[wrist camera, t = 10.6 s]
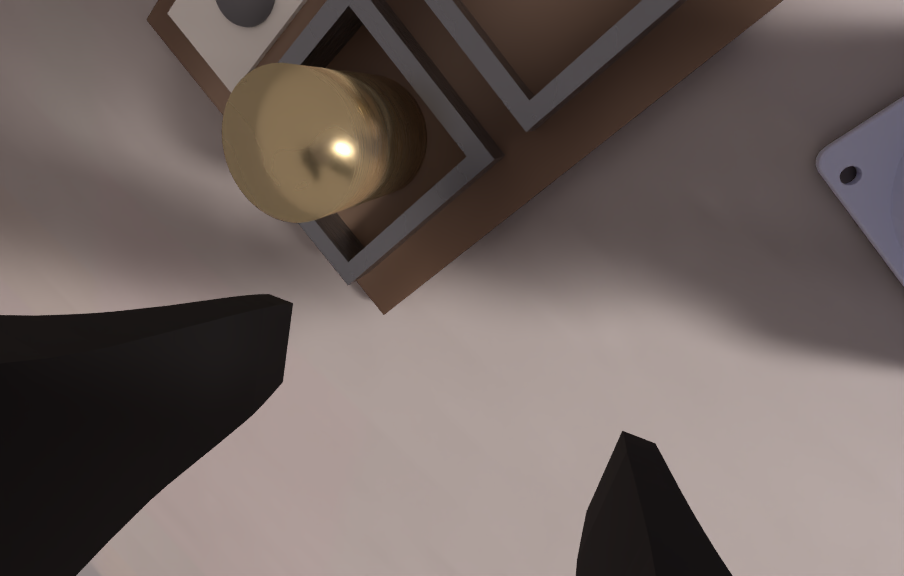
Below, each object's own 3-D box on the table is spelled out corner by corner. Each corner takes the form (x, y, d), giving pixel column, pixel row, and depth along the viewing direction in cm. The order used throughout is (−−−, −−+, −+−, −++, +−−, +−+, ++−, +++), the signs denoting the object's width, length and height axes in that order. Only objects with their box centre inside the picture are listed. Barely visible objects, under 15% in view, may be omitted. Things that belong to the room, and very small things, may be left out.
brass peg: (448, 118, 17) (382, 121, 13) (392, 217, 19) (316, 251, 14) (351, 50, 17) (252, 29, 13) (304, 154, 19) (203, 167, 15)
